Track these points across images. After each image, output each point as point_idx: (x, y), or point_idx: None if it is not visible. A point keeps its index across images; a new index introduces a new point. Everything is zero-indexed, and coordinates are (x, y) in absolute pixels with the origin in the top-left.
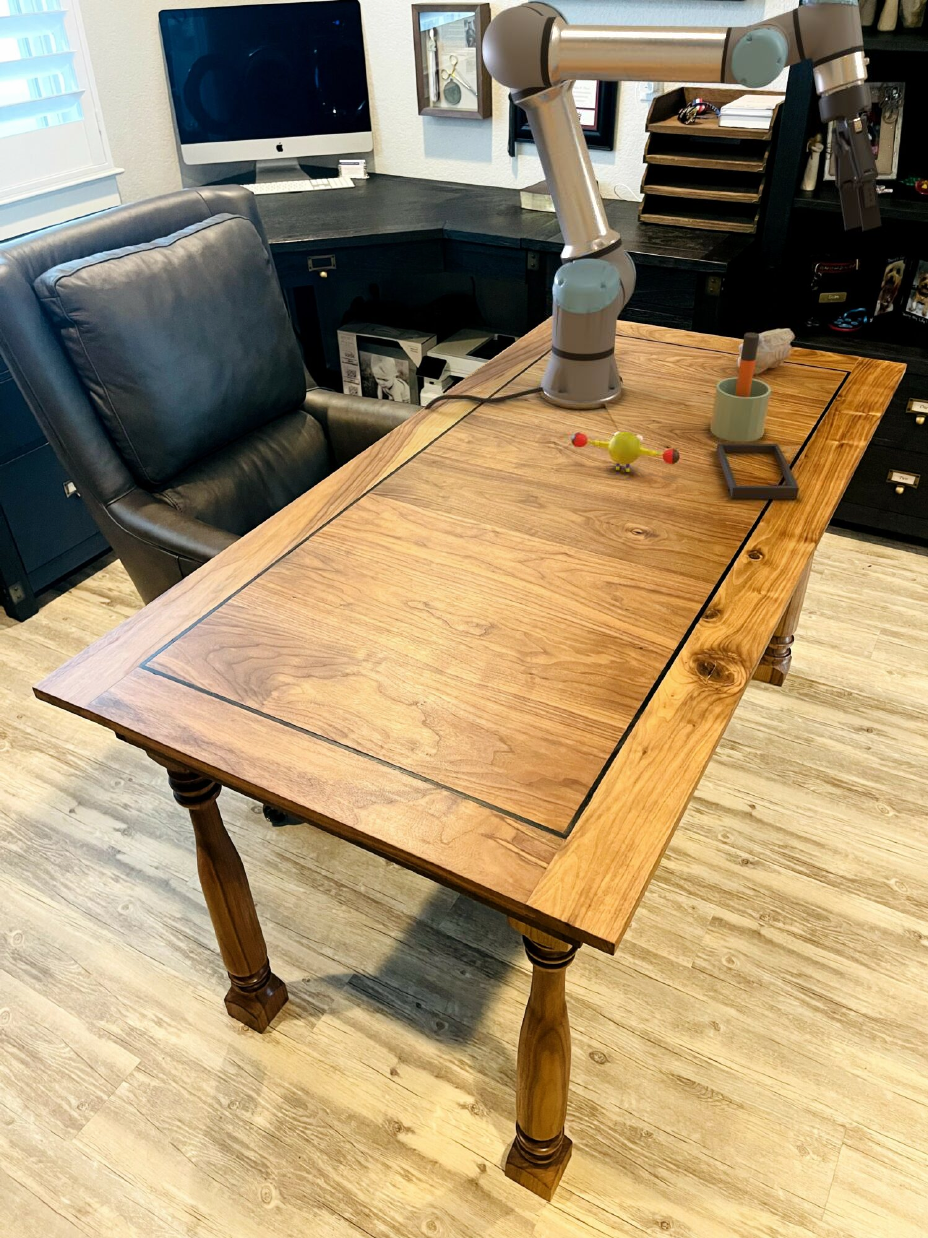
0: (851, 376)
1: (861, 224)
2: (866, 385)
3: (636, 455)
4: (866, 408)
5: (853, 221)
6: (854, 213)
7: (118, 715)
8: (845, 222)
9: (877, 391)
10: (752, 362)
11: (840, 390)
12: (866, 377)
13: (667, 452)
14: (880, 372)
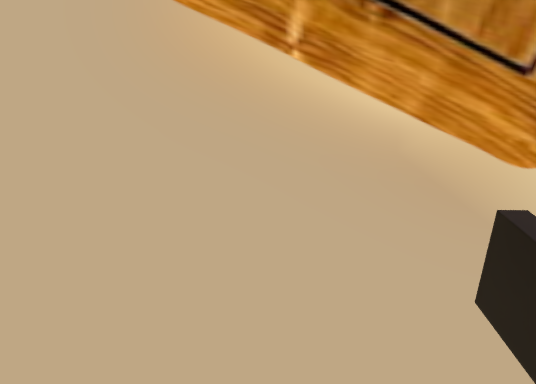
0: (499, 71)
1: (478, 301)
2: (440, 87)
3: None
4: (320, 53)
5: (505, 281)
6: (530, 328)
7: None
8: (526, 237)
9: (404, 99)
10: None
11: (420, 24)
12: (485, 100)
13: None
14: (506, 135)
